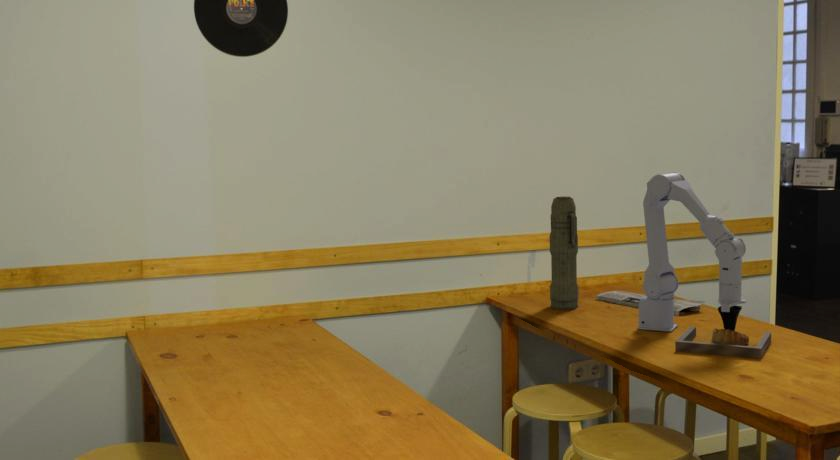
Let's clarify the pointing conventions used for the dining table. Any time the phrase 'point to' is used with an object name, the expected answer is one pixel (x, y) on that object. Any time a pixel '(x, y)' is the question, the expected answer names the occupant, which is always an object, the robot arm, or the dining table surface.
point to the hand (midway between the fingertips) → (729, 333)
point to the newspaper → (634, 298)
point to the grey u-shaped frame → (721, 346)
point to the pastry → (729, 337)
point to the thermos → (564, 254)
